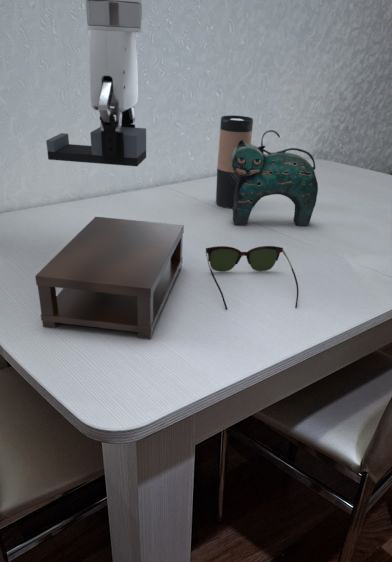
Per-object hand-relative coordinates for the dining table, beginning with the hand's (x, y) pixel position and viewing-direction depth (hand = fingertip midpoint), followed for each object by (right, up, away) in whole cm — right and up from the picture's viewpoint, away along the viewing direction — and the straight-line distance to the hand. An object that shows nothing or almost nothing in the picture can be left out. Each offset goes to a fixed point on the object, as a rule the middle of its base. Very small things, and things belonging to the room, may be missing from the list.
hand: (119, 154), depth 79 cm
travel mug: (+21, +6, +49) cm, 53 cm away
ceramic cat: (+29, -2, +38) cm, 47 cm away
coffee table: (0, -21, +4) cm, 22 cm away
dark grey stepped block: (-3, 0, +1) cm, 4 cm away
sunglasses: (+21, -20, +8) cm, 30 cm away
